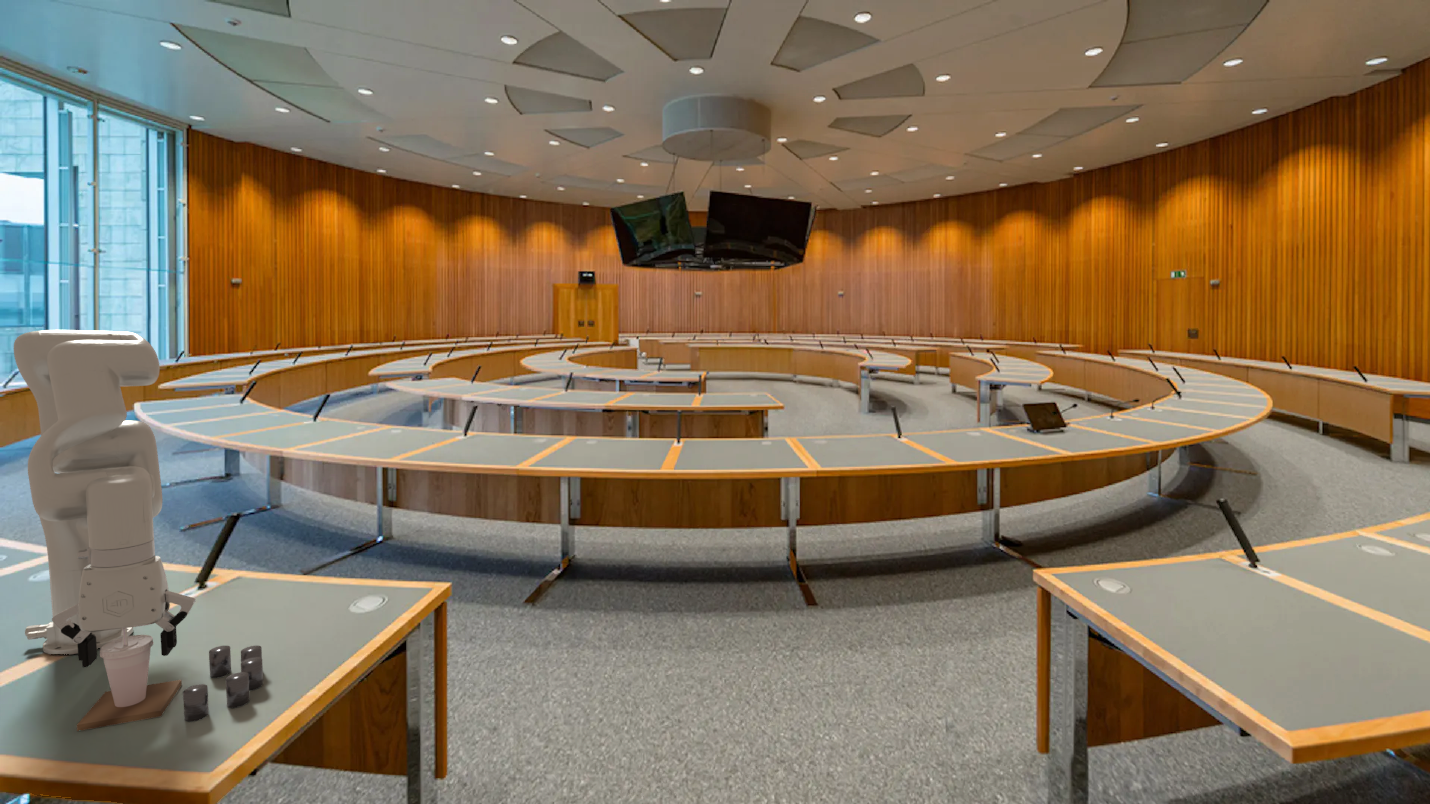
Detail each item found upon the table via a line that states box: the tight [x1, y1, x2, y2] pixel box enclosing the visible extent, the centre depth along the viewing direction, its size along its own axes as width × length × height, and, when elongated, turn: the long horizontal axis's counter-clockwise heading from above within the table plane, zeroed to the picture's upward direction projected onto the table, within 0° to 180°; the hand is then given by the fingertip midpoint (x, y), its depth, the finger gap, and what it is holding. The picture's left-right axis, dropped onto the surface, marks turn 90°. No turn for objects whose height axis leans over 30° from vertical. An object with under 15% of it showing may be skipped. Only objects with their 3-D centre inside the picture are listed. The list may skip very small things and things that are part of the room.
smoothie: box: [99, 628, 154, 707], centre depth 103 cm, size 6×6×14 cm
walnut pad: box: [76, 679, 183, 732], centre depth 103 cm, size 10×10×1 cm
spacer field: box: [182, 645, 264, 723], centre depth 109 cm, size 9×17×4 cm, turn 25°
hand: (129, 657), depth 103 cm, fingers open, 9 cm apart
